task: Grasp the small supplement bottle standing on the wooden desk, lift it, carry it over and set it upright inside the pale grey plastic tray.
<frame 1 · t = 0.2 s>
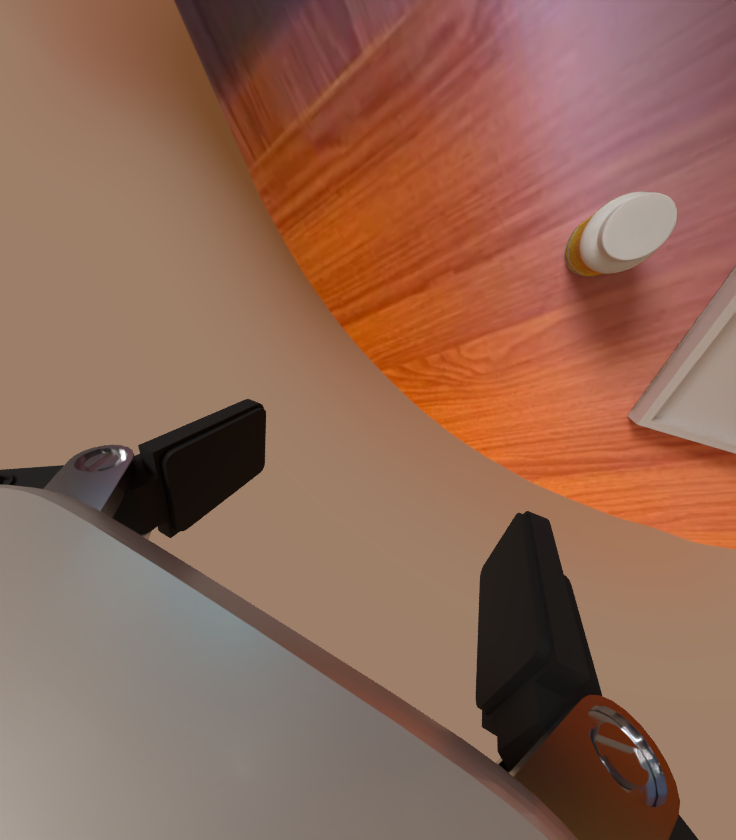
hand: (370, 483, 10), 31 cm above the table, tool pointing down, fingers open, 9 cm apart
supplement bottle: (594, 246, 28), on the table
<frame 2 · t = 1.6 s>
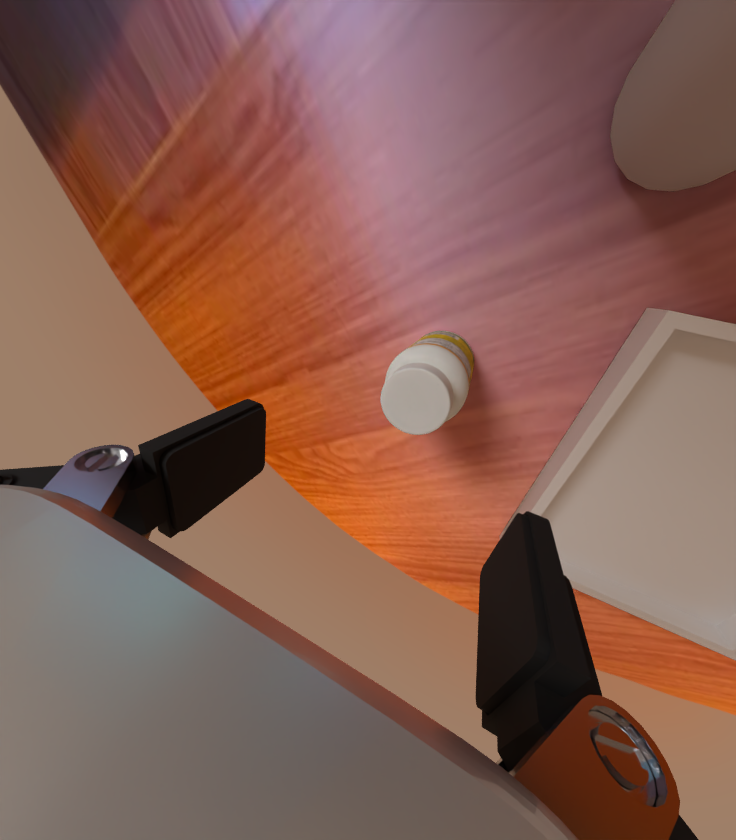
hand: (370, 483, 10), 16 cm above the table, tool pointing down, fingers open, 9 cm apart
supplement bottle: (440, 362, 24), on the table
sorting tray: (686, 492, 21), on the table
can: (697, 103, 14), on the table
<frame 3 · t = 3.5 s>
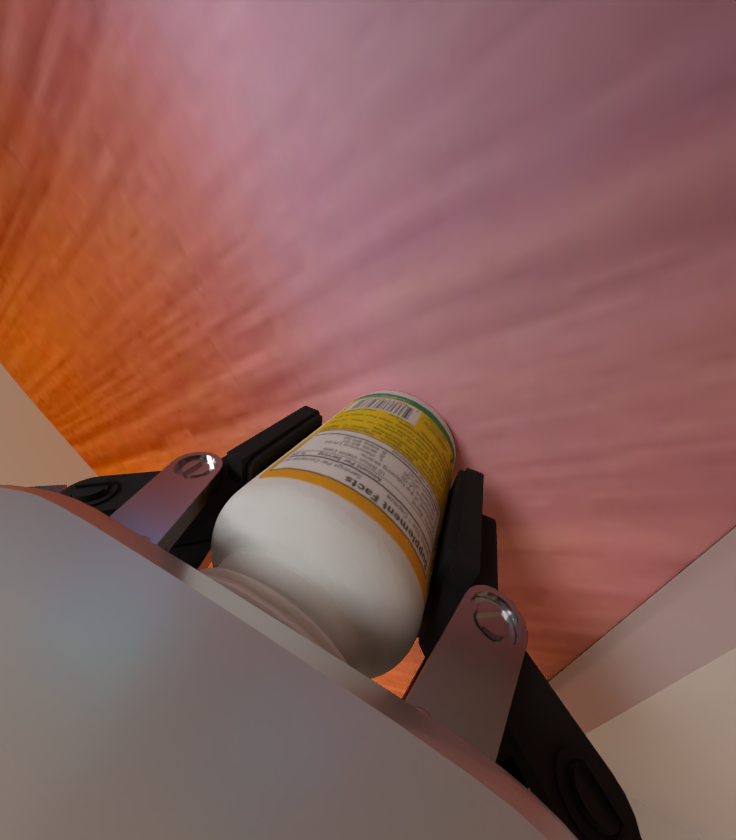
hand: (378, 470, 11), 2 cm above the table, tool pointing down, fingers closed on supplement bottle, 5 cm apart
supplement bottle: (394, 444, 12), on the table, touching gripper
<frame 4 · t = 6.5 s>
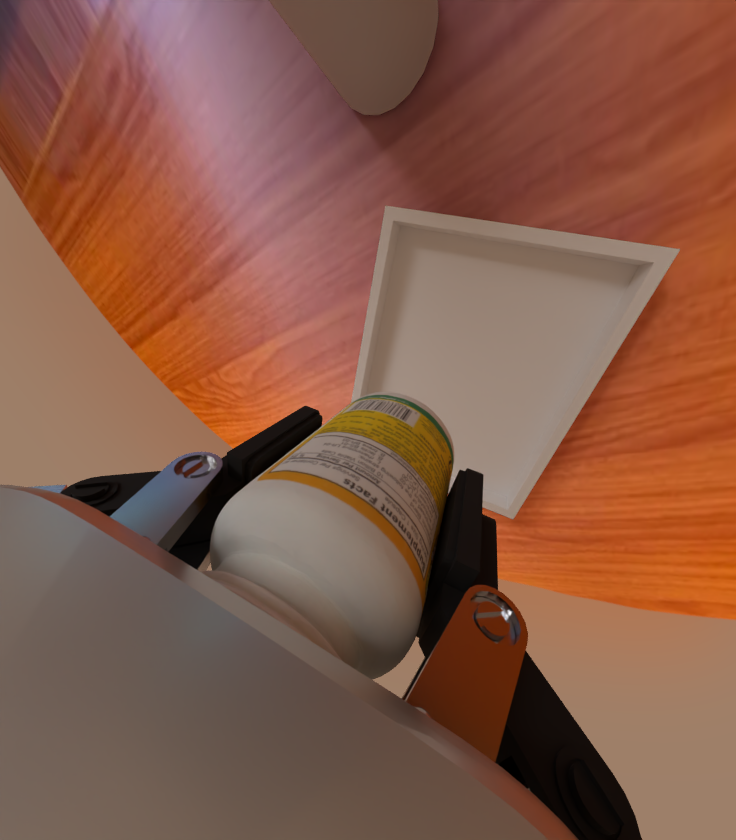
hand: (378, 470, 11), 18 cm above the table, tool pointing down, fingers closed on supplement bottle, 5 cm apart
supplement bottle: (393, 445, 12), point 16 cm above the table, touching gripper
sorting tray: (460, 375, 25), on the table
can: (385, 48, 19), on the table
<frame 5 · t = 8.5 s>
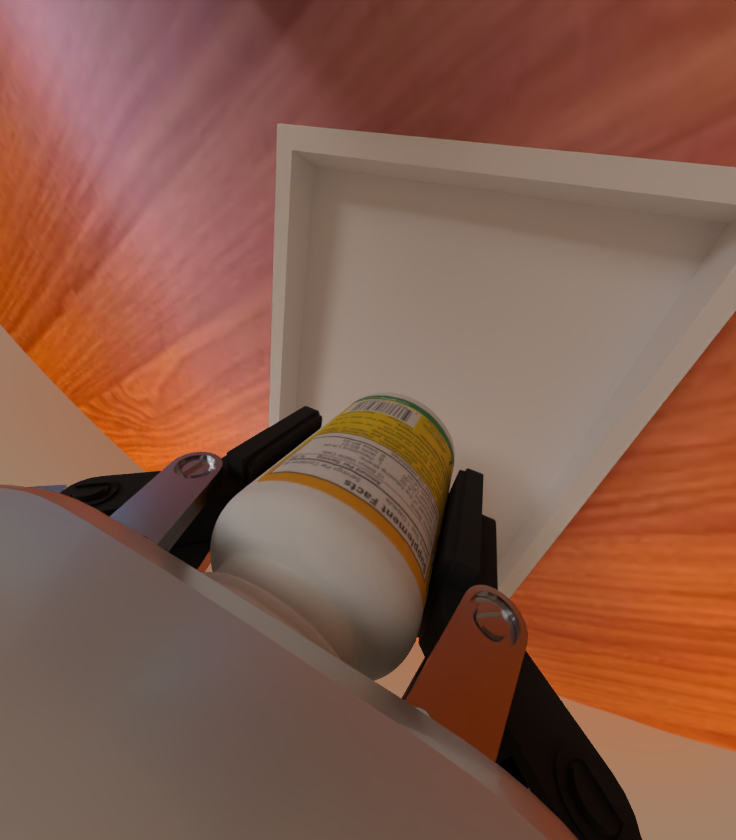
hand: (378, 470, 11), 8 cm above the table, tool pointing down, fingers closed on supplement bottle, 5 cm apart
supplement bottle: (394, 445, 12), point 5 cm above the table, touching gripper
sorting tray: (419, 403, 17), on the table
when the fingers open (4 cm above the table, at t = 10.0 s): supplement bottle drops 1 cm, resting on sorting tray.
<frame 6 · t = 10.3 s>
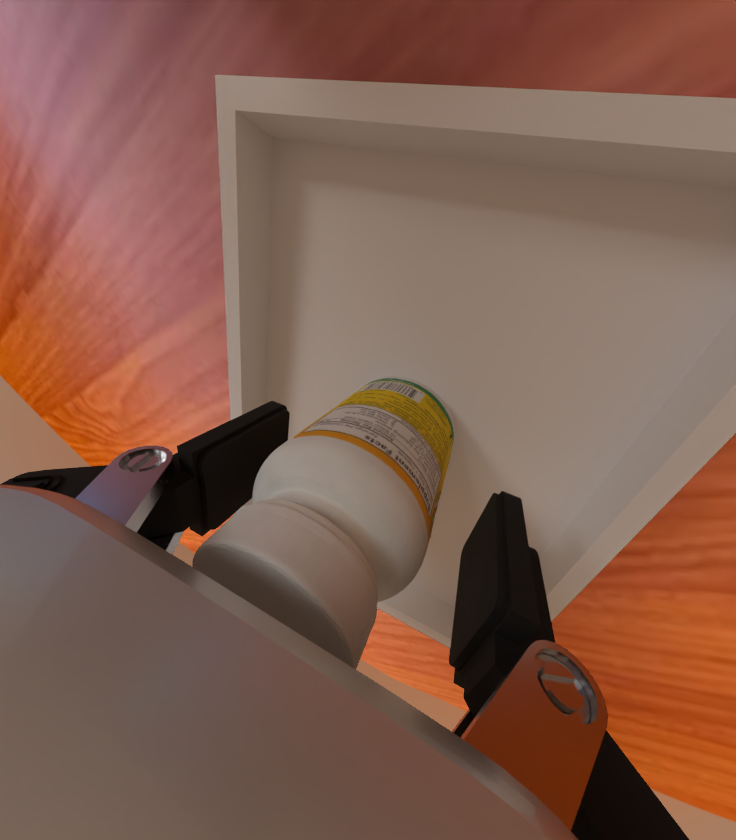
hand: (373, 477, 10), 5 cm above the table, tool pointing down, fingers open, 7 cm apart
supplement bottle: (400, 426, 14), resting on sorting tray
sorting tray: (406, 426, 14), on the table
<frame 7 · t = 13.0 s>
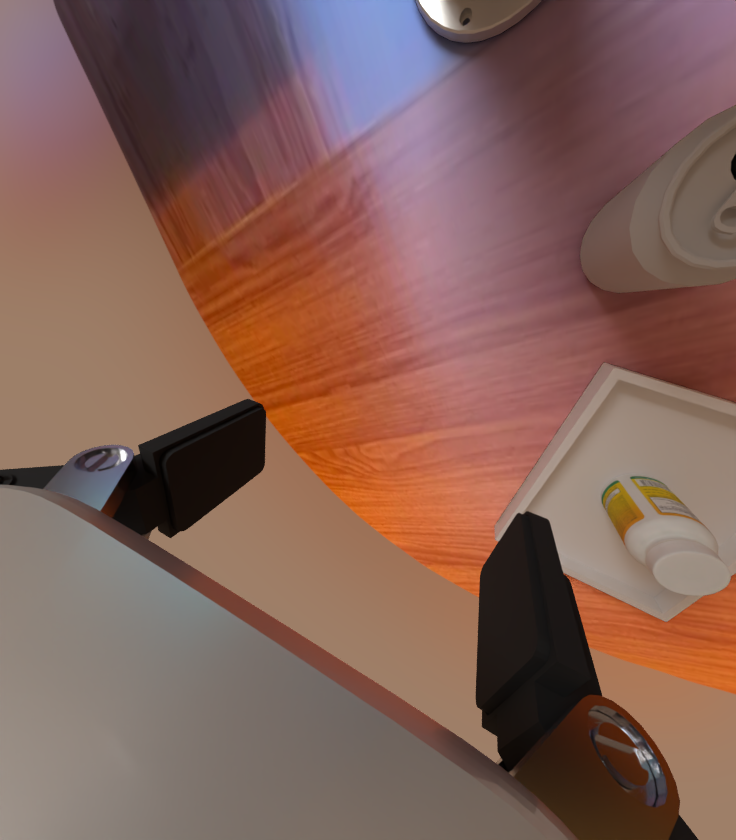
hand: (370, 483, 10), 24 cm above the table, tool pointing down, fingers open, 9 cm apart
supplement bottle: (631, 494, 28), resting on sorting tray
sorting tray: (631, 493, 28), on the table
can: (633, 242, 22), on the table
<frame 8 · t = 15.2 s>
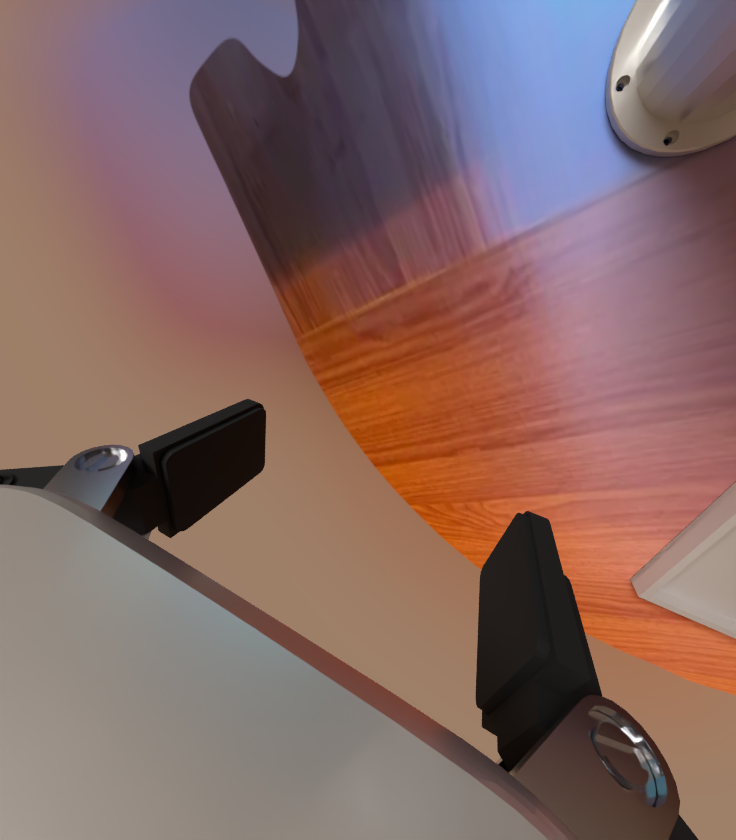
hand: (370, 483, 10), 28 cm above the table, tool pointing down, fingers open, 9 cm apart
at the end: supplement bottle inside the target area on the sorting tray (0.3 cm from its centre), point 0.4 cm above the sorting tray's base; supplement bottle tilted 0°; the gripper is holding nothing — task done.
